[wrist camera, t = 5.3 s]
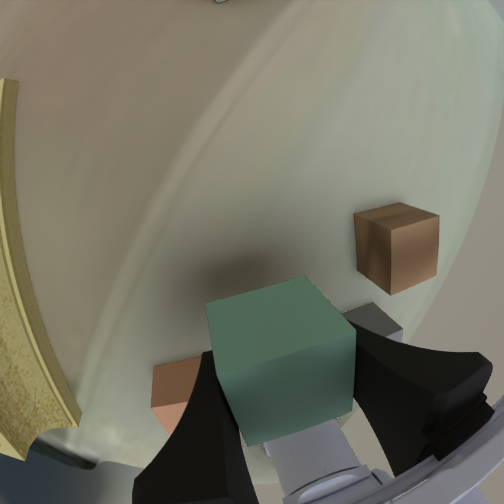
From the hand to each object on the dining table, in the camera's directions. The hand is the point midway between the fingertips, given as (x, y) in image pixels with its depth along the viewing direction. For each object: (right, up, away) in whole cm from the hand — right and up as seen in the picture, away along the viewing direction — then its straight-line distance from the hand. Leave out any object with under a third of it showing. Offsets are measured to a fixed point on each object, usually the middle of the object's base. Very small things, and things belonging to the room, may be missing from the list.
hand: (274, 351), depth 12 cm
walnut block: (+9, +5, +9) cm, 14 cm away
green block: (0, 0, +2) cm, 2 cm away
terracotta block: (-6, -6, +10) cm, 13 cm away
